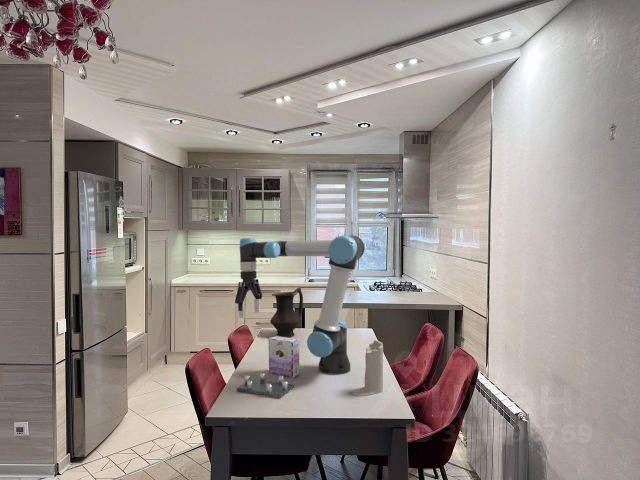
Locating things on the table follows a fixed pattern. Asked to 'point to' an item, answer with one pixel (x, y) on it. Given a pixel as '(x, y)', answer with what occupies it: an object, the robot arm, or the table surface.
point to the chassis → (265, 387)
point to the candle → (373, 370)
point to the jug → (286, 313)
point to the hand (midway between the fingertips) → (249, 315)
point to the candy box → (284, 356)
